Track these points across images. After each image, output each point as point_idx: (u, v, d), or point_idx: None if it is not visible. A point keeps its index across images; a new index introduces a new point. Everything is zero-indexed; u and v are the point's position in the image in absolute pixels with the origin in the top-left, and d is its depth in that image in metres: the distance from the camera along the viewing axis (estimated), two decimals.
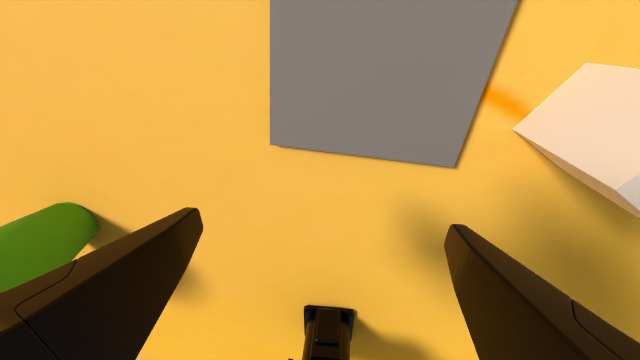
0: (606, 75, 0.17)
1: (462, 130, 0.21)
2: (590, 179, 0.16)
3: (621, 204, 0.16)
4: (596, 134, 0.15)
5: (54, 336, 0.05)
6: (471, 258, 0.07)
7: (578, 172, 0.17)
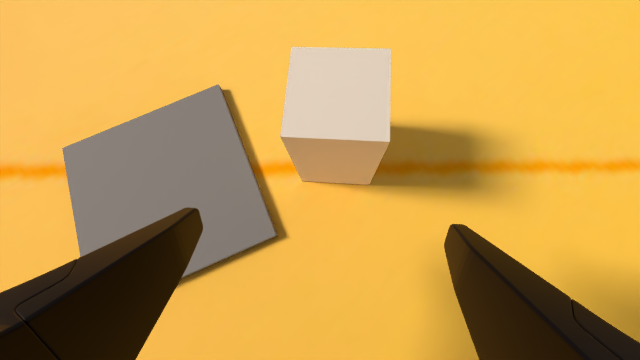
0: None
1: (257, 201, 0.23)
2: (313, 155, 0.17)
3: (357, 157, 0.17)
4: None
5: (54, 337, 0.05)
6: (471, 258, 0.07)
7: (316, 161, 0.18)
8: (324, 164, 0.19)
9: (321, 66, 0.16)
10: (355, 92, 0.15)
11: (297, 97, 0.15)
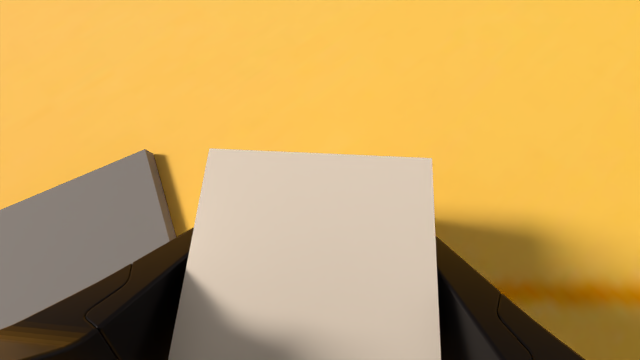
0: None
1: None
2: None
3: None
4: None
5: (121, 344, 0.05)
6: None
7: None
8: None
9: (272, 200, 0.07)
10: (350, 274, 0.06)
11: (211, 285, 0.06)
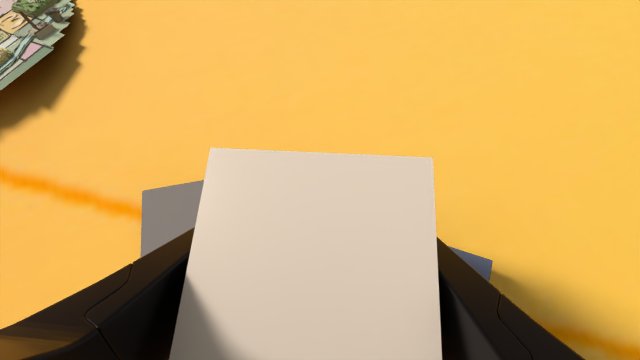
0: None
1: None
2: None
3: None
4: None
5: (121, 343, 0.05)
6: None
7: None
8: None
9: (273, 199, 0.07)
10: (351, 273, 0.06)
11: (212, 284, 0.06)
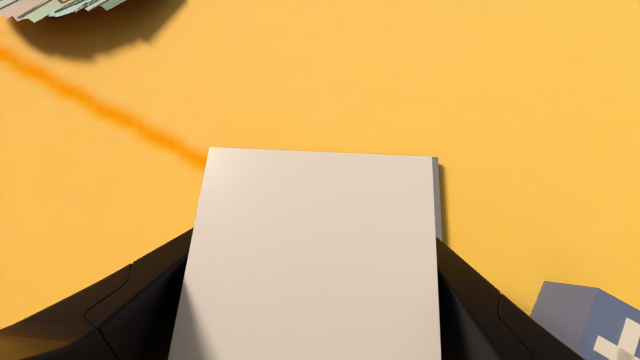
0: None
1: None
2: None
3: None
4: None
5: (121, 344, 0.05)
6: None
7: None
8: None
9: (272, 199, 0.07)
10: (350, 272, 0.06)
11: (211, 283, 0.06)
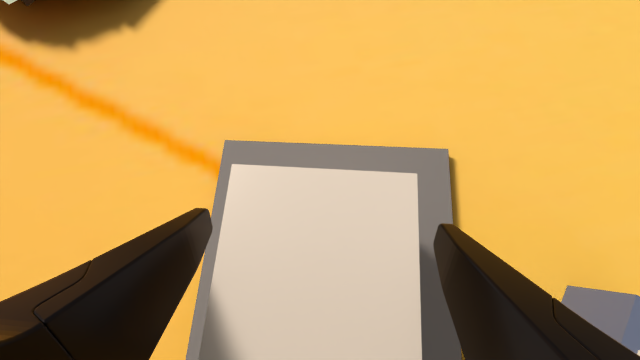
0: None
1: (454, 357, 0.15)
2: None
3: None
4: None
5: (72, 338, 0.05)
6: (457, 257, 0.07)
7: None
8: None
9: (285, 207, 0.08)
10: (349, 269, 0.08)
11: (236, 277, 0.08)
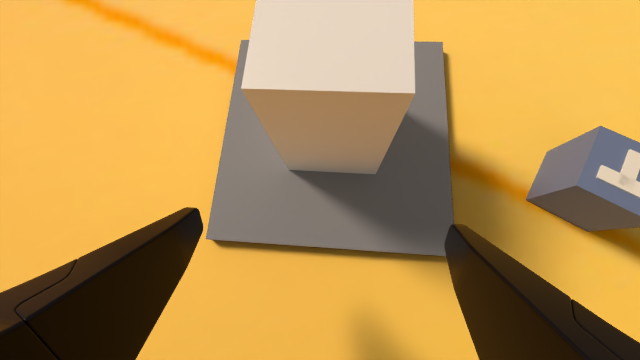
0: None
1: (446, 203, 0.17)
2: (298, 126, 0.12)
3: (361, 127, 0.12)
4: None
5: (54, 337, 0.05)
6: (471, 258, 0.07)
7: (302, 136, 0.13)
8: (314, 142, 0.13)
9: None
10: (358, 20, 0.10)
11: (269, 30, 0.10)
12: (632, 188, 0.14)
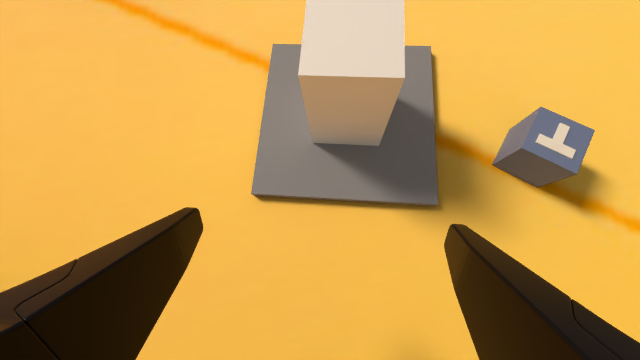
0: None
1: (431, 166, 0.23)
2: (328, 103, 0.18)
3: (370, 103, 0.17)
4: None
5: (54, 337, 0.05)
6: (471, 258, 0.07)
7: (329, 111, 0.19)
8: (337, 115, 0.19)
9: (336, 11, 0.16)
10: (370, 33, 0.16)
11: (313, 39, 0.16)
12: (559, 149, 0.20)
